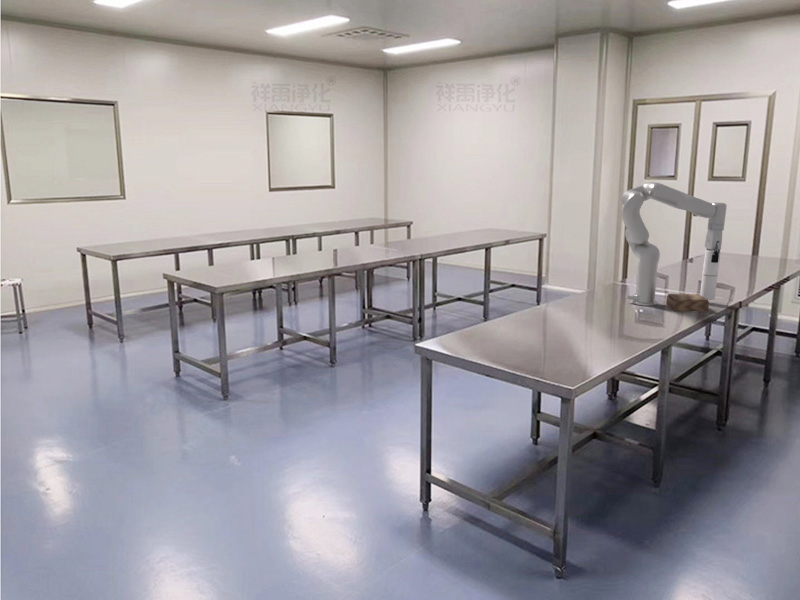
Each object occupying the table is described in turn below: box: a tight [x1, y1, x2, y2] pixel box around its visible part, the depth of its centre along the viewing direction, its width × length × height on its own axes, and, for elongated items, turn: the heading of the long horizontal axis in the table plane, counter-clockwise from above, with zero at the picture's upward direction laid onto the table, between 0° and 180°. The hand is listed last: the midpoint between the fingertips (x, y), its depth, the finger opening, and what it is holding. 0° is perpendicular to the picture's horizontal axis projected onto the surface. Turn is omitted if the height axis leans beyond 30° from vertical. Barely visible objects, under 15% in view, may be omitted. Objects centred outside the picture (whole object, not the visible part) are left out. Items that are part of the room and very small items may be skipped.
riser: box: [665, 293, 710, 313], centre depth 321 cm, size 16×14×6 cm
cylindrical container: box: [699, 249, 721, 301], centre depth 329 cm, size 7×7×25 cm
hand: (711, 261), depth 327 cm, fingers closed on cylindrical container, 7 cm apart
